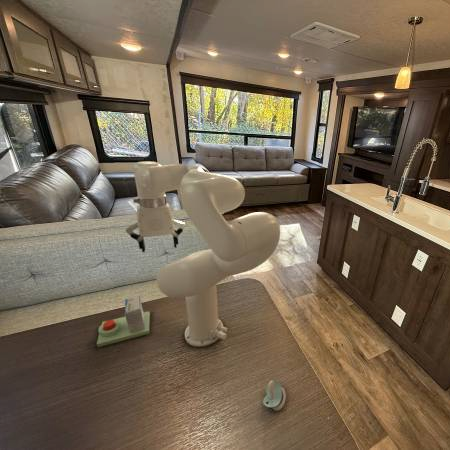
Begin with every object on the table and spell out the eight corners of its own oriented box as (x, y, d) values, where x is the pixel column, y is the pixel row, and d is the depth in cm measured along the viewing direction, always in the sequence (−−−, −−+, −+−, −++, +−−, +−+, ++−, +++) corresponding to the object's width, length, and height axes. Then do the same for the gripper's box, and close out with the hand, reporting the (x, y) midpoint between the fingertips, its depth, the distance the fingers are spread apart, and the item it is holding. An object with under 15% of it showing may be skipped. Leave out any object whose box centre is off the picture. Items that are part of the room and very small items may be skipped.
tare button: (116, 322, 84) (115, 318, 83) (114, 329, 81) (113, 325, 81) (105, 325, 82) (104, 321, 82) (103, 331, 80) (102, 327, 79)
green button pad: (149, 314, 92) (148, 307, 91) (149, 333, 84) (147, 327, 83) (103, 324, 86) (101, 318, 84) (97, 347, 78) (95, 340, 76)
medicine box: (145, 328, 84) (141, 308, 81) (129, 333, 82) (124, 313, 78) (143, 313, 90) (139, 294, 87) (129, 318, 88) (124, 298, 84)
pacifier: (287, 387, 71) (267, 384, 72) (289, 373, 69) (268, 369, 69) (283, 415, 65) (261, 411, 65) (285, 400, 62) (262, 396, 63)
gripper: (118, 207, 72) (129, 257, 79) (183, 203, 80) (188, 249, 87) (121, 199, 78) (131, 246, 85) (181, 196, 86) (186, 240, 93)
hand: (160, 248), depth 86 cm, fingers open, 9 cm apart
